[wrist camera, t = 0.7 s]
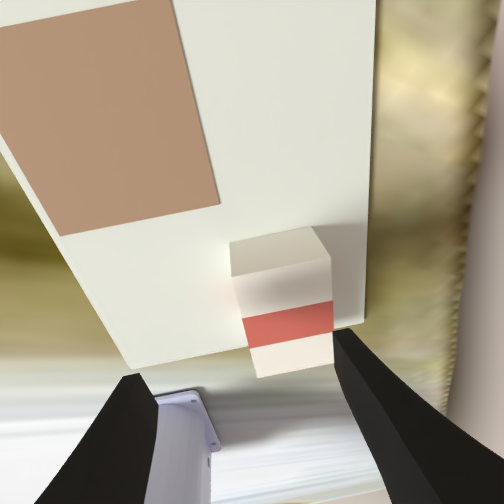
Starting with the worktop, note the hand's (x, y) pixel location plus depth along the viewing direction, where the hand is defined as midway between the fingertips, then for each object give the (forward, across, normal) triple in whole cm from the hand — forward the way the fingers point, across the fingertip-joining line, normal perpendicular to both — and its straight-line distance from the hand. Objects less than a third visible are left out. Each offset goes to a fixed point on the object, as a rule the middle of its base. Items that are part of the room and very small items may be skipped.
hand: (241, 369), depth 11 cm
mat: (+9, 0, -3) cm, 9 cm away
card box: (+8, -2, +3) cm, 9 cm away
